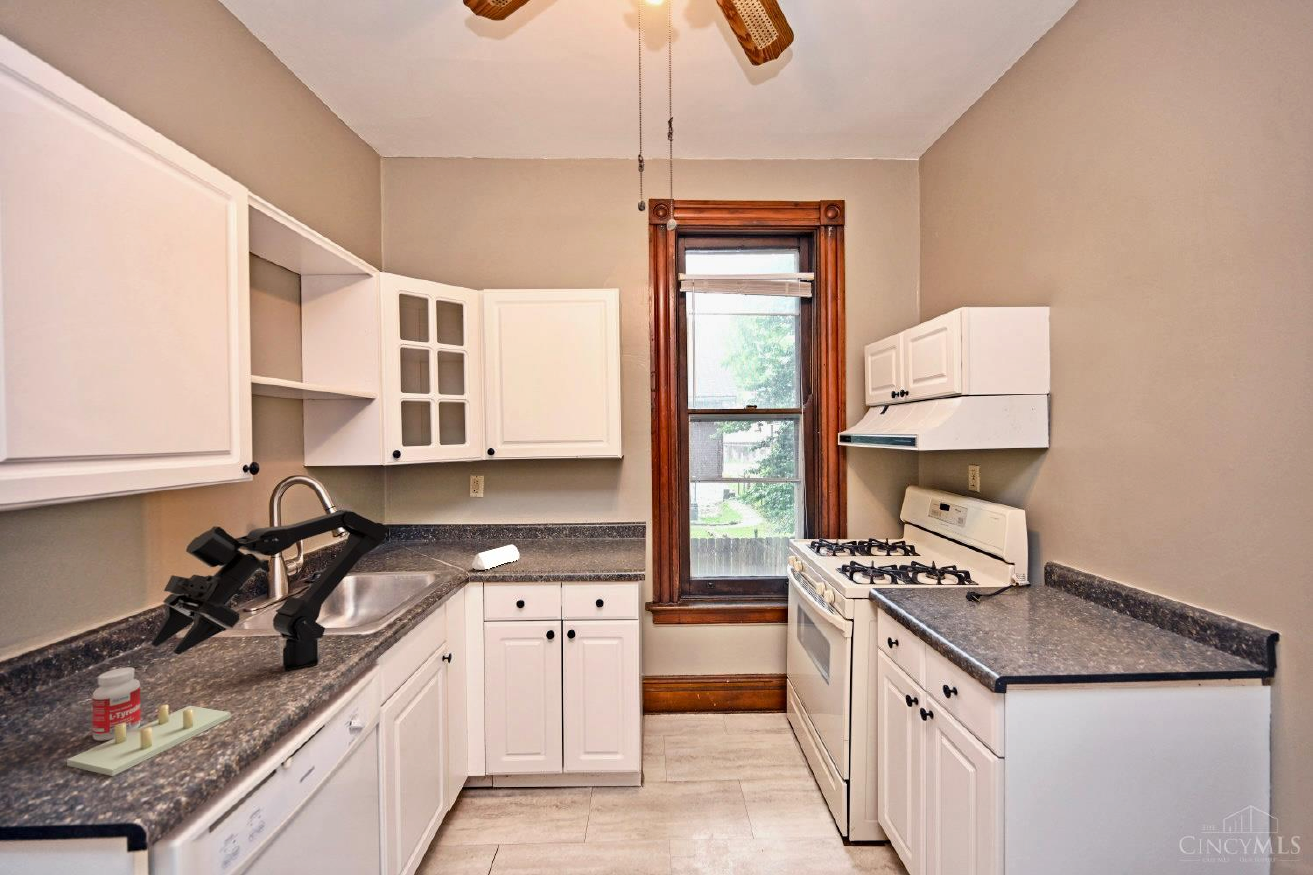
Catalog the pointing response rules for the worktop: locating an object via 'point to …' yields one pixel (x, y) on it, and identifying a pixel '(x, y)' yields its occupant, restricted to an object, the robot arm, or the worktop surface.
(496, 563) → the white rounded log
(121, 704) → the pill bottle
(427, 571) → the worktop surface
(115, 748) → the standoff plate
